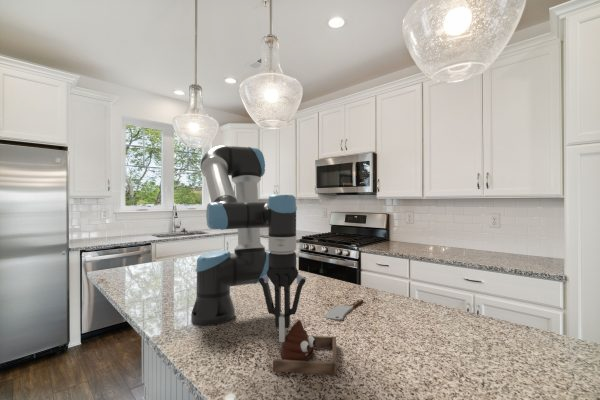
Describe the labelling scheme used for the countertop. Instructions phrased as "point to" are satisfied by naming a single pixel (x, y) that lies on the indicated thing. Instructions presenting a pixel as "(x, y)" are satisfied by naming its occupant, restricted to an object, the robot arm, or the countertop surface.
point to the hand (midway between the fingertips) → (282, 339)
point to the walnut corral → (310, 366)
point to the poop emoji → (297, 344)
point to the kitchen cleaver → (341, 311)
